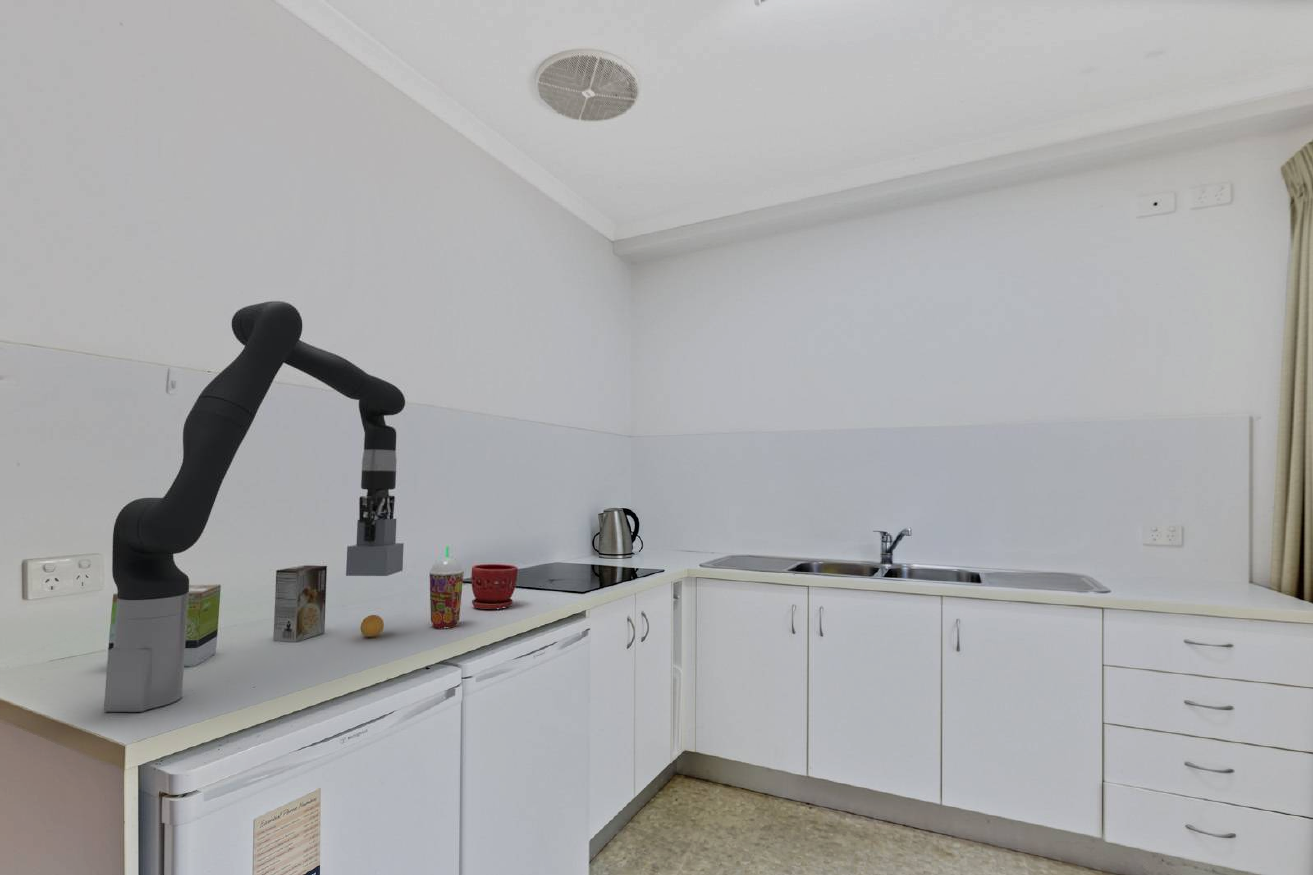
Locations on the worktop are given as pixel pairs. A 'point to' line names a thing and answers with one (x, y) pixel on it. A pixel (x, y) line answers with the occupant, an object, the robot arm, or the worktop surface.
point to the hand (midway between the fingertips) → (376, 539)
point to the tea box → (193, 623)
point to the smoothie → (445, 591)
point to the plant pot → (493, 585)
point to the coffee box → (299, 603)
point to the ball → (372, 626)
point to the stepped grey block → (375, 551)
